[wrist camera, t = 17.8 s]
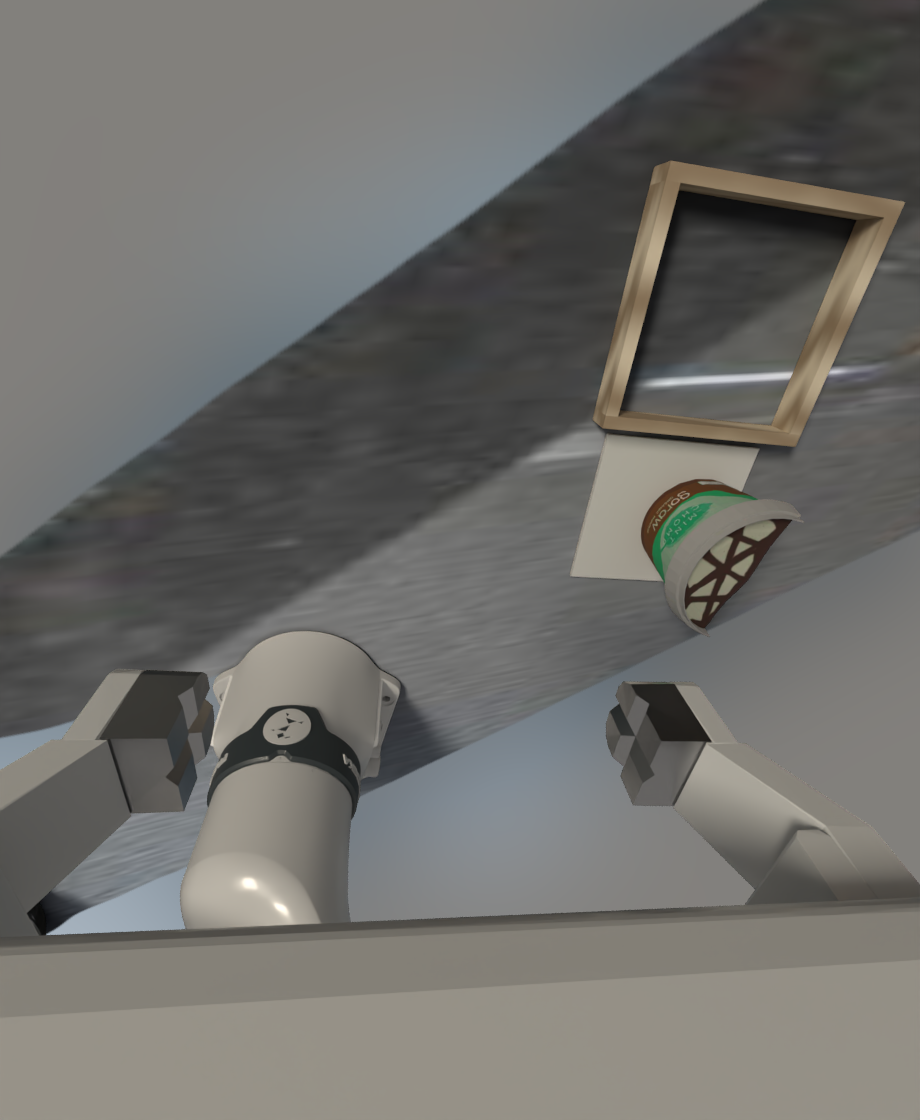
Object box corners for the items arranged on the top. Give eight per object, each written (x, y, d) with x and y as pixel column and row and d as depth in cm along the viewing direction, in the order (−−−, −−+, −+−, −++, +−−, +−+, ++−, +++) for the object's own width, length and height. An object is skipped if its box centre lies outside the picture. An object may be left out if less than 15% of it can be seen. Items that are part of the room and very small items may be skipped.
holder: (776, 437, 45) (795, 446, 43) (592, 419, 43) (602, 428, 41) (875, 205, 37) (904, 202, 35) (654, 166, 35) (670, 160, 32)
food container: (678, 442, 44) (745, 486, 36) (733, 468, 46) (809, 516, 37) (603, 558, 49) (645, 621, 41) (654, 578, 51) (705, 642, 42)
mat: (701, 581, 52) (703, 583, 52) (569, 574, 50) (570, 576, 50) (756, 447, 46) (759, 448, 45) (606, 433, 44) (608, 434, 43)
